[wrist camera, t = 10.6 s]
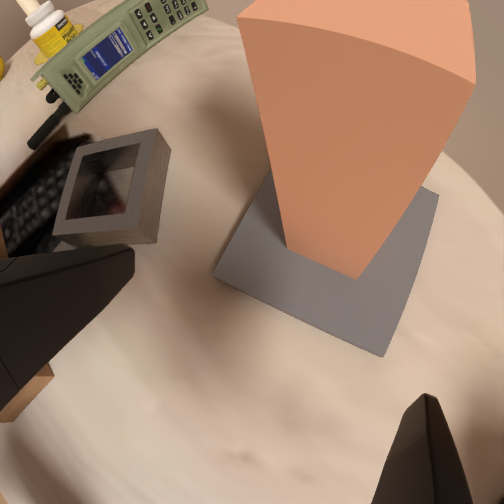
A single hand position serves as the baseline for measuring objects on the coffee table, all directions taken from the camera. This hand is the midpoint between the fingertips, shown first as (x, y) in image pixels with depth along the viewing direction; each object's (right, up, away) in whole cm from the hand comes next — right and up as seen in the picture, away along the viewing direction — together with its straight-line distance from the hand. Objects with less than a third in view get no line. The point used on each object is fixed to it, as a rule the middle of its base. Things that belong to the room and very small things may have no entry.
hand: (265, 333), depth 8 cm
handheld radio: (-14, +21, +19) cm, 32 cm away
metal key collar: (-13, +3, +12) cm, 18 cm away
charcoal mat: (+4, +3, +9) cm, 10 cm away
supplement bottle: (-25, +29, +23) cm, 45 cm away
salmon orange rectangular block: (+4, +3, +8) cm, 10 cm away
